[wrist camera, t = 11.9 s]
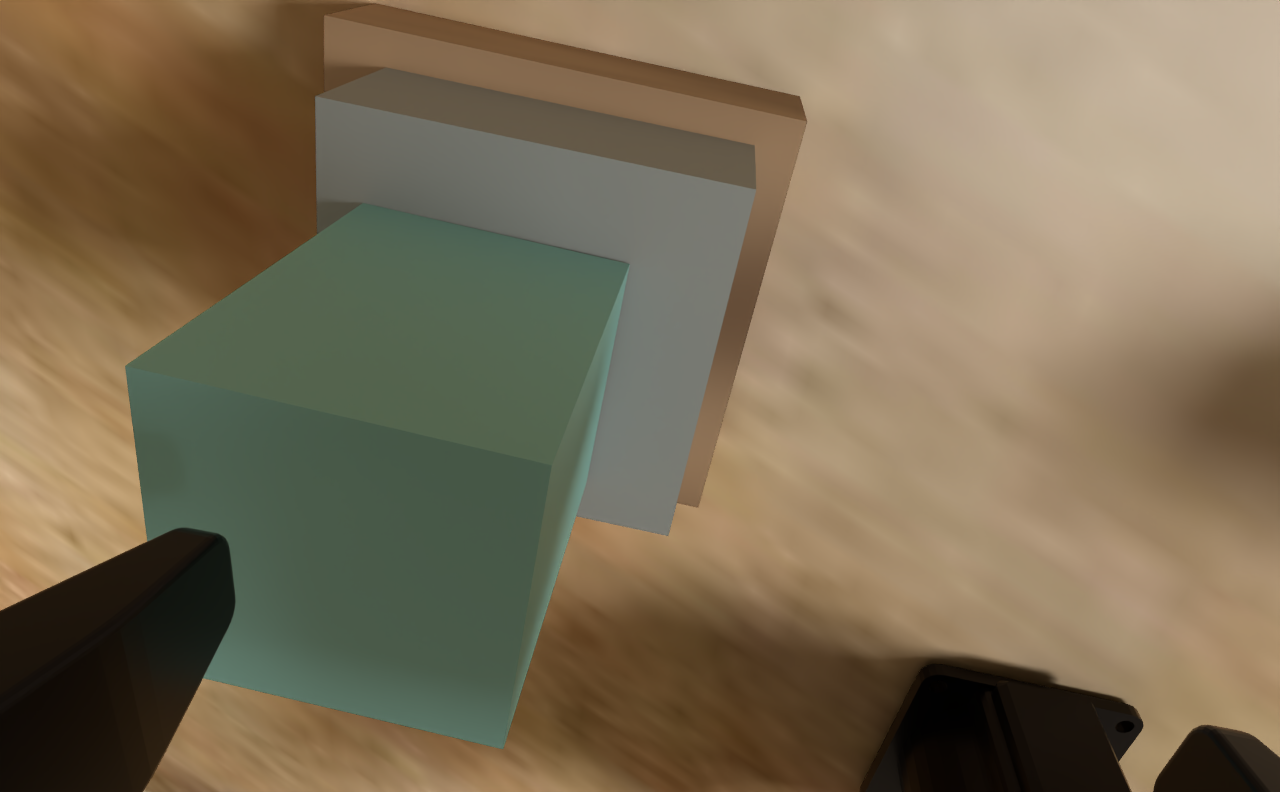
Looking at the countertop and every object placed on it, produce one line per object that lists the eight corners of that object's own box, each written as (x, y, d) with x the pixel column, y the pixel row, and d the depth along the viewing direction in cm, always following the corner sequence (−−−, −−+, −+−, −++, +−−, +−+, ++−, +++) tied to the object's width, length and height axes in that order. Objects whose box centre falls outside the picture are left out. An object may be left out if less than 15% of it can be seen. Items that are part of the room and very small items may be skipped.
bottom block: (703, 439, 22) (698, 507, 20) (373, 366, 22) (324, 424, 20) (798, 91, 18) (806, 121, 15) (385, 1, 18) (323, 15, 15)
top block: (678, 452, 19) (668, 535, 17) (377, 388, 19) (319, 461, 17) (754, 145, 16) (756, 189, 13) (386, 66, 16) (314, 95, 13)
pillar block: (586, 483, 16) (503, 749, 11) (356, 429, 16) (163, 669, 11) (629, 264, 14) (551, 465, 9) (363, 202, 14) (125, 365, 9)
